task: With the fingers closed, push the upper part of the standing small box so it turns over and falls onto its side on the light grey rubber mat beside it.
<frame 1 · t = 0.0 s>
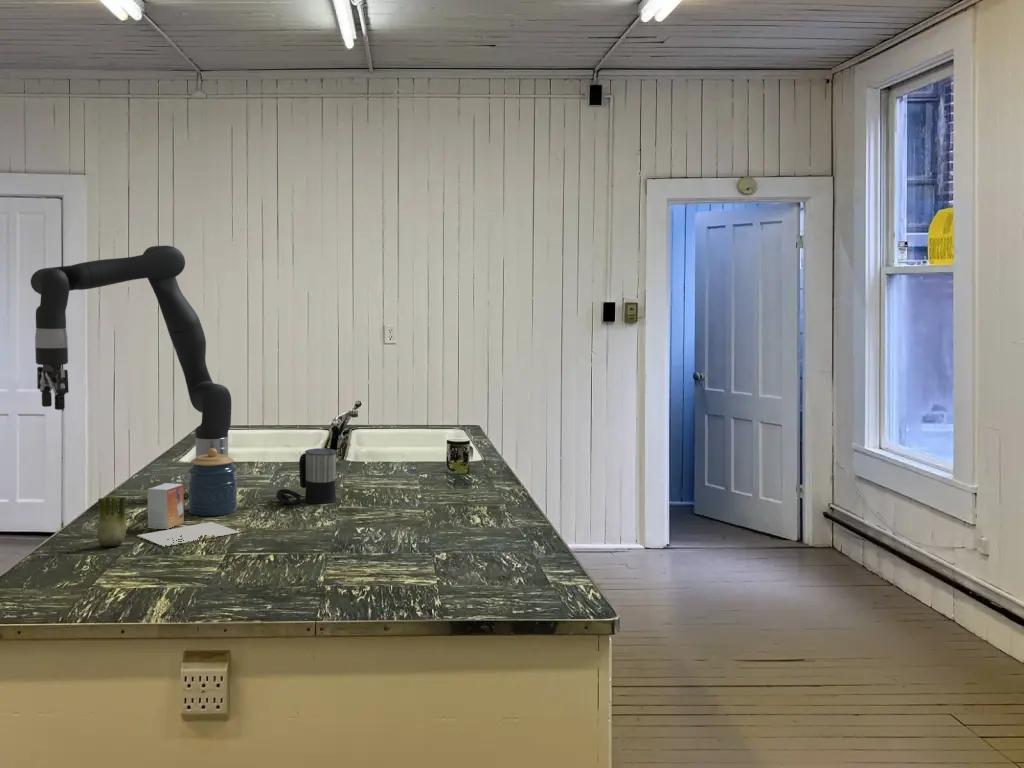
hand: (53, 408, 241), 29 cm above the countertop, tool pointing down, fingers open, 8 cm apart
milk frother: (307, 502, 269), on the countertop
fennel bulb: (111, 547, 219), on the countertop
canister: (212, 512, 255), on the countertop
small box: (166, 527, 238), on the countertop
mat: (189, 535, 230), on the countertop
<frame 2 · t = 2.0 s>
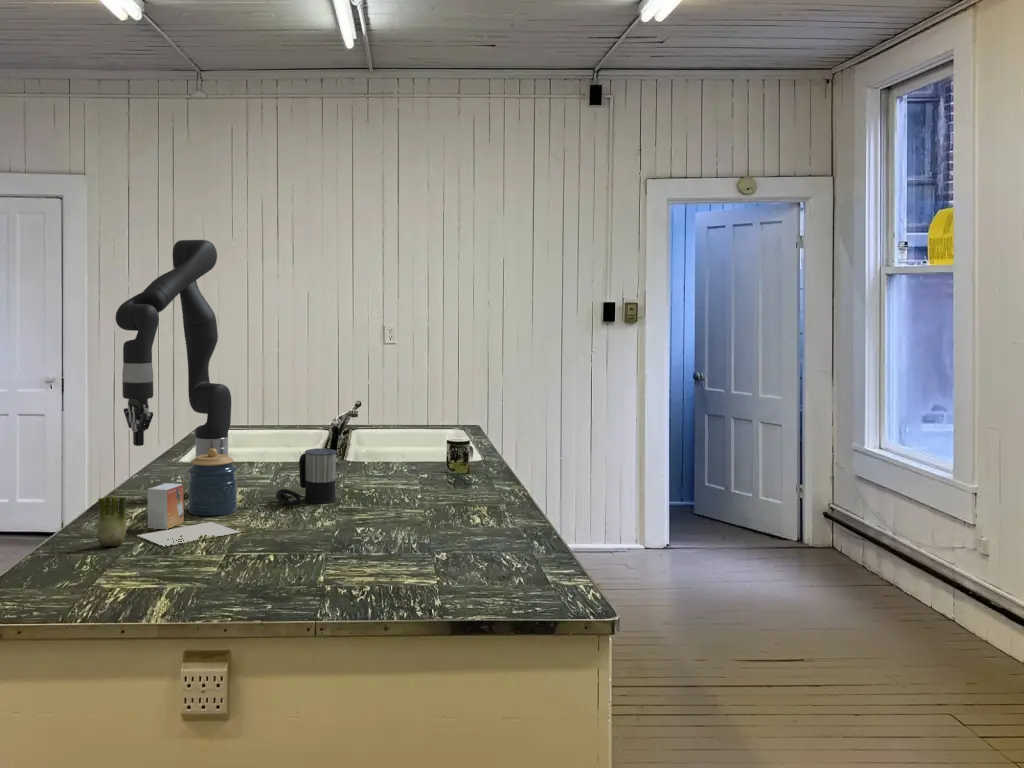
hand: (138, 445, 244), 20 cm above the countertop, tool pointing down, fingers closed
nothing on the countertop moved.
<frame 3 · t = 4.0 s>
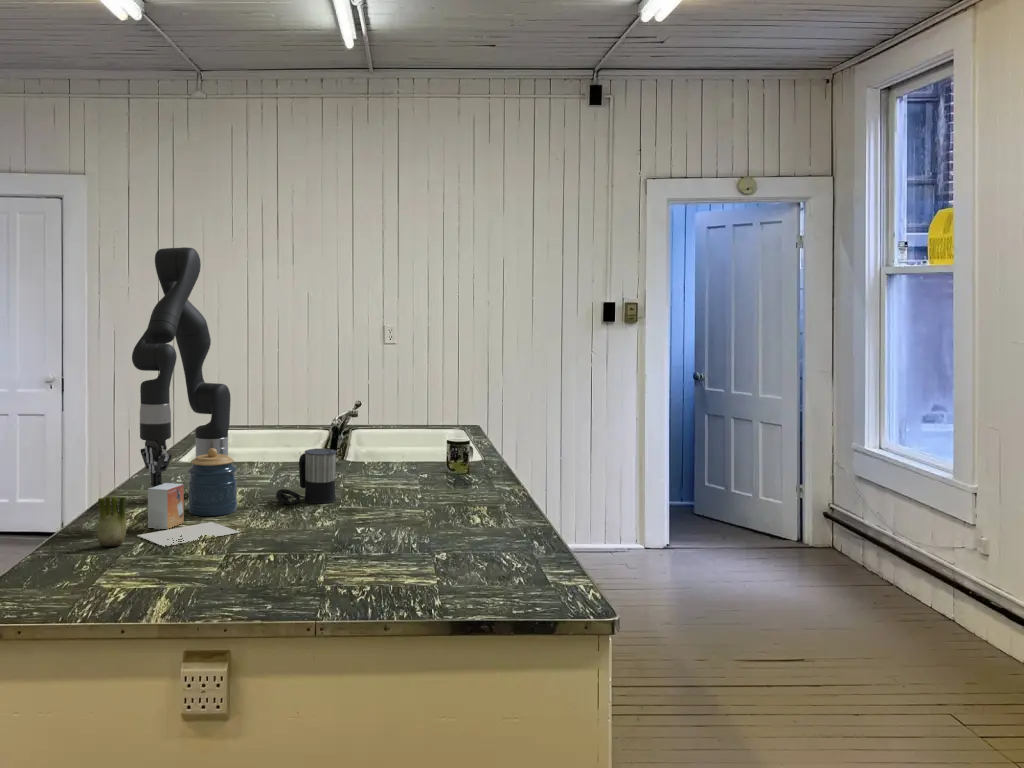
hand: (156, 486, 240), 10 cm above the countertop, tool pointing down, fingers closed
small box: (166, 526, 238), on the countertop, touching gripper
everything else where it was.
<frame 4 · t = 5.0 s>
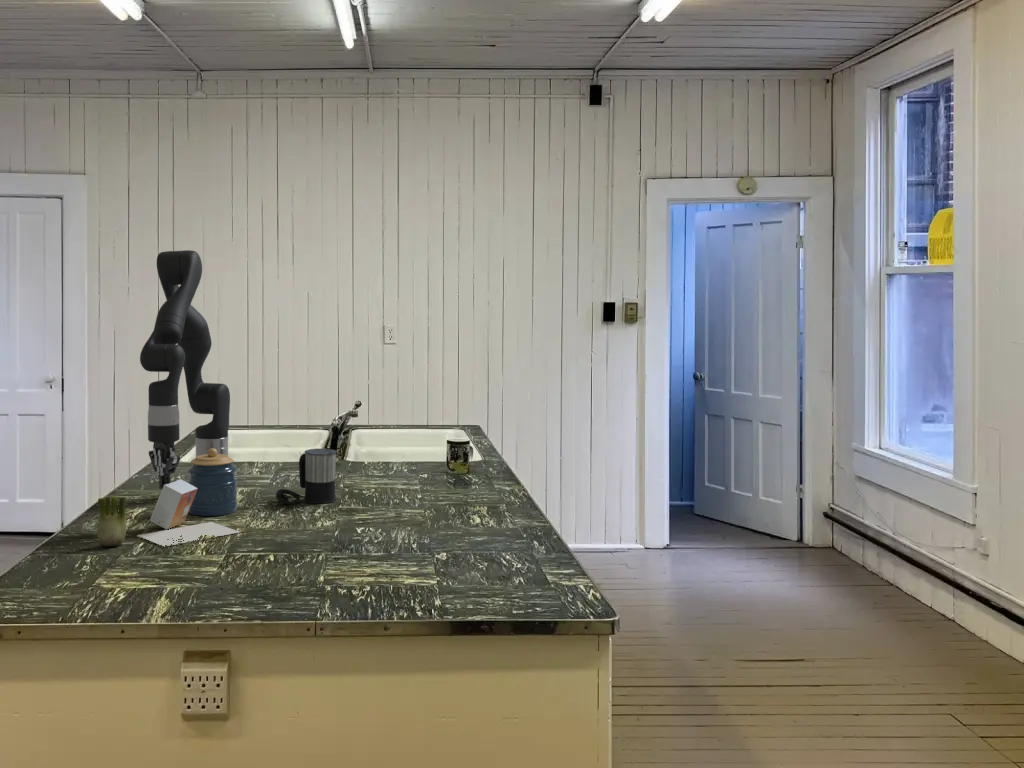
hand: (164, 489, 237), 10 cm above the countertop, tool pointing down, fingers closed
small box: (166, 522, 238), point 1 cm above the countertop
everything else where it was.
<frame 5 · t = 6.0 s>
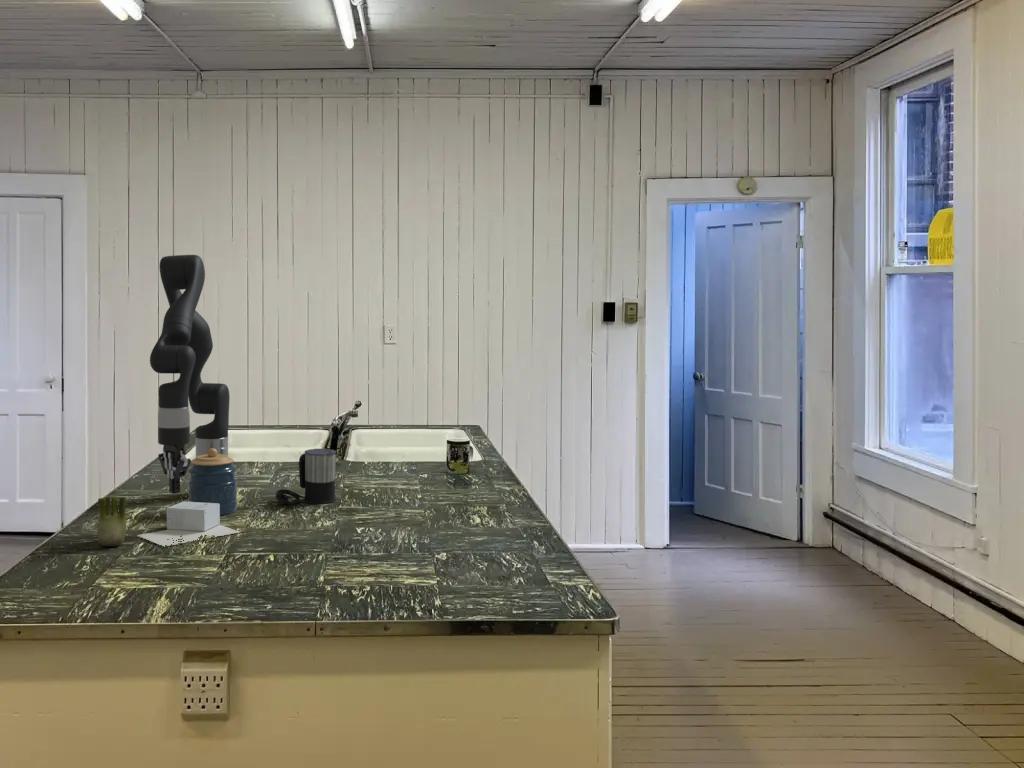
hand: (174, 492, 233), 10 cm above the countertop, tool pointing down, fingers closed
small box: (174, 514, 237), point 3 cm above the countertop, touching mat
everything else where it was.
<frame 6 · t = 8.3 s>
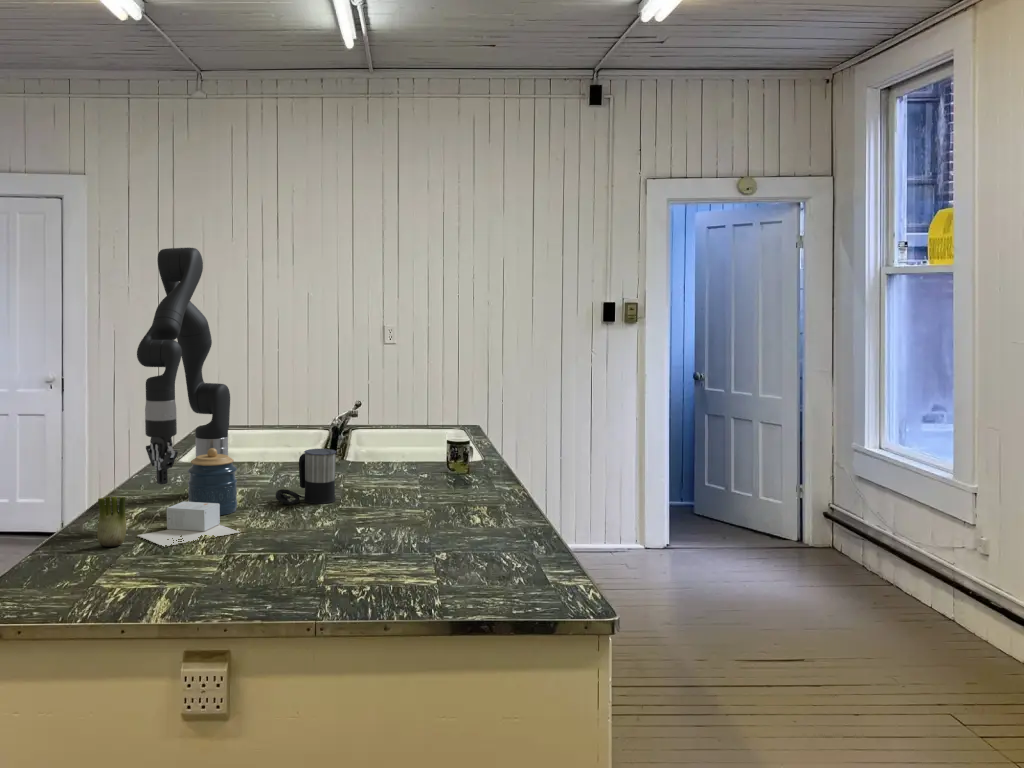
hand: (162, 483, 239), 11 cm above the countertop, tool pointing down, fingers closed
nothing on the countertop moved.
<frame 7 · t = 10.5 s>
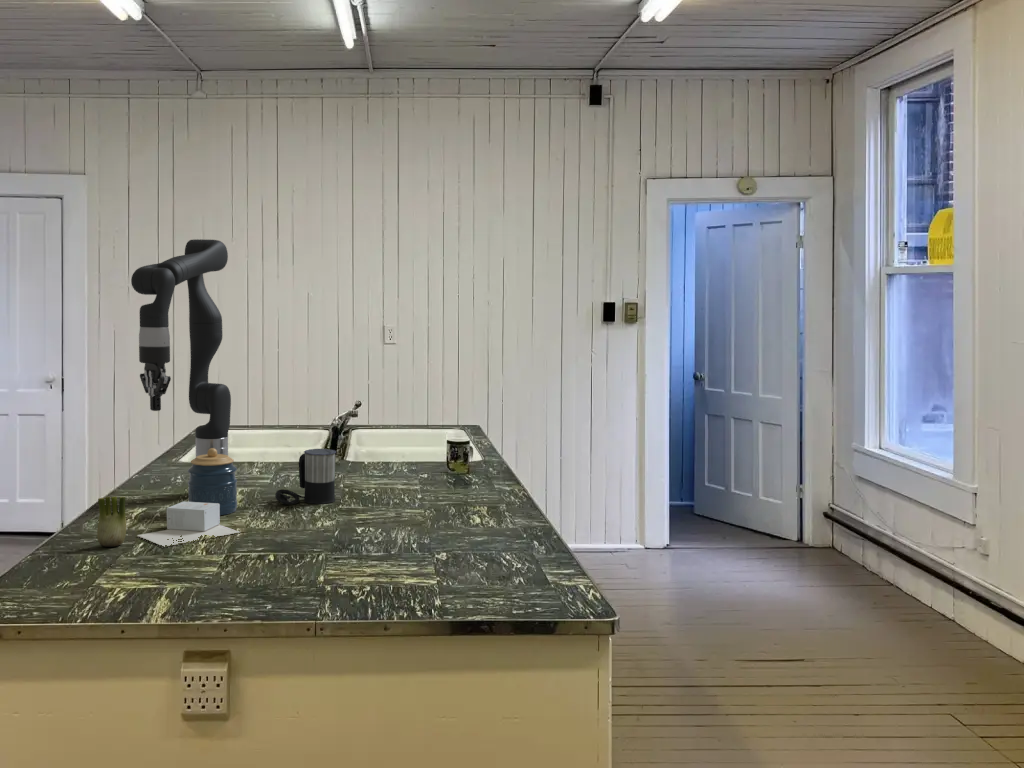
hand: (155, 410, 243), 29 cm above the countertop, tool pointing down, fingers closed
nothing on the countertop moved.
at the end: small box tilted 90°; small box inside the target area (9.7 cm from its centre), point 3.2 cm above the countertop; the gripper is holding nothing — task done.
